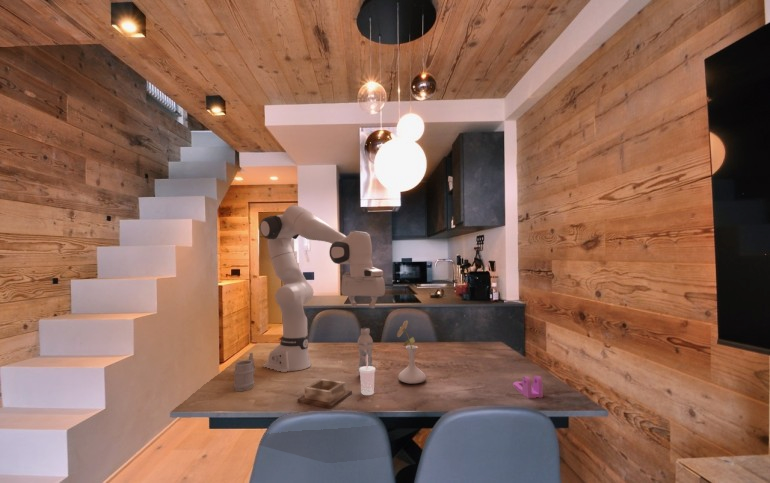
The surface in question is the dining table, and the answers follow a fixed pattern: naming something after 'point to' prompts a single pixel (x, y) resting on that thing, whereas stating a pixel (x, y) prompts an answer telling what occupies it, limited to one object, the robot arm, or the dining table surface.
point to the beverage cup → (367, 379)
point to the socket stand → (325, 393)
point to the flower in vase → (410, 361)
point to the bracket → (530, 387)
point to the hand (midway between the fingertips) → (362, 307)
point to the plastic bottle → (365, 348)
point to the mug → (244, 374)
